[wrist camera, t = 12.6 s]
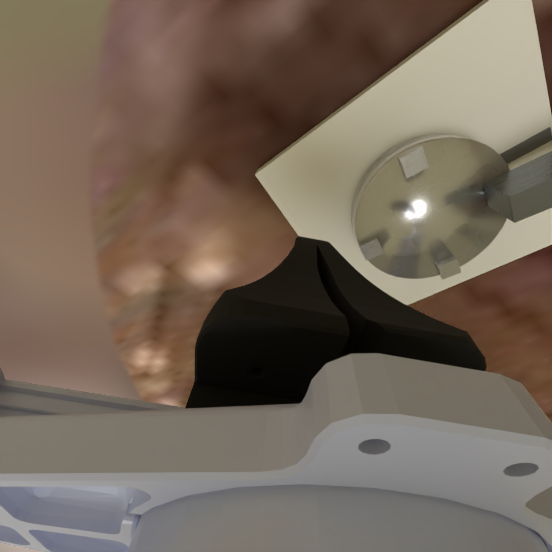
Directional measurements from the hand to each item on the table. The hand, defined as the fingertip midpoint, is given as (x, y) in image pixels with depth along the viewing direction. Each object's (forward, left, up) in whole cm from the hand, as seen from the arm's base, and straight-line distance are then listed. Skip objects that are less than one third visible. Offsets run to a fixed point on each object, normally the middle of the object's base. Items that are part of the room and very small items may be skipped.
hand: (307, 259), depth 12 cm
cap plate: (-5, -6, -10) cm, 13 cm away
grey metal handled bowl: (-5, -10, -9) cm, 14 cm away
